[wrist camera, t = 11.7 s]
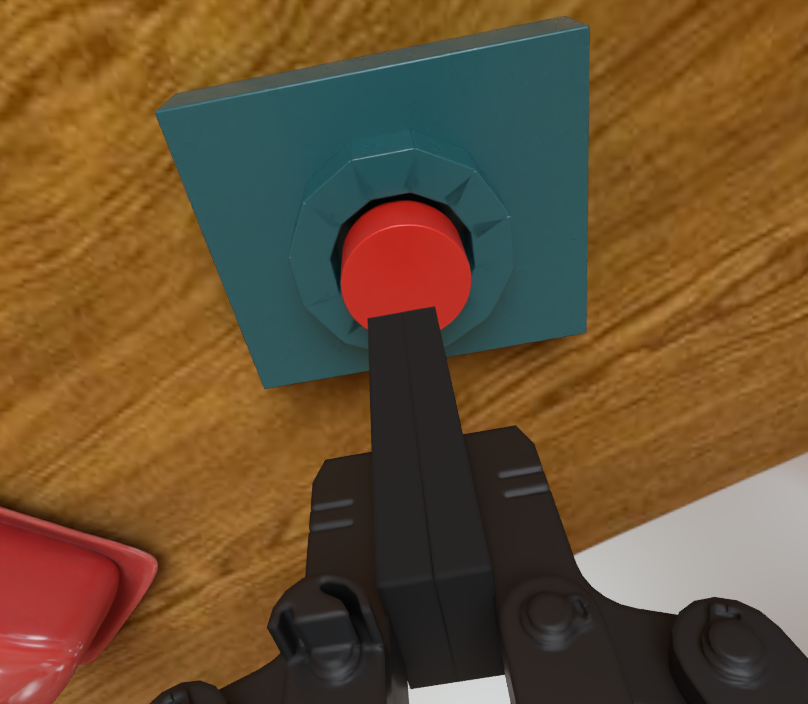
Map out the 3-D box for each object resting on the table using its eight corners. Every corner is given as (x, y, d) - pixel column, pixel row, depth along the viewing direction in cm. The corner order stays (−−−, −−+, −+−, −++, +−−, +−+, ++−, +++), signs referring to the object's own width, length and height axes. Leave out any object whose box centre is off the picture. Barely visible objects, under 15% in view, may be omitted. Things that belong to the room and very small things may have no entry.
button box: (566, 15, 18) (614, 34, 14) (569, 302, 23) (603, 363, 20) (173, 93, 18) (133, 129, 15) (270, 355, 24) (257, 422, 21)
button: (455, 188, 17) (464, 212, 15) (468, 298, 19) (477, 328, 17) (329, 212, 17) (326, 238, 15) (356, 318, 19) (356, 349, 17)
